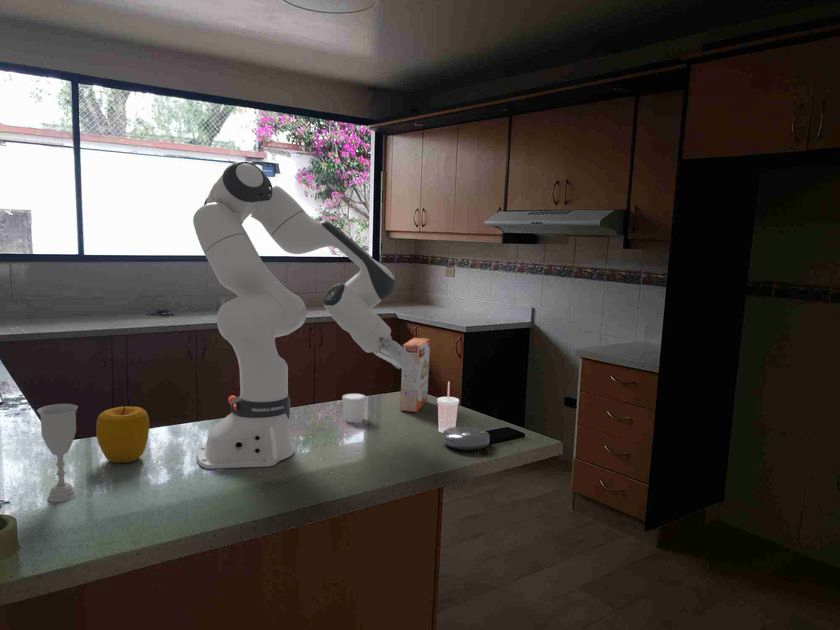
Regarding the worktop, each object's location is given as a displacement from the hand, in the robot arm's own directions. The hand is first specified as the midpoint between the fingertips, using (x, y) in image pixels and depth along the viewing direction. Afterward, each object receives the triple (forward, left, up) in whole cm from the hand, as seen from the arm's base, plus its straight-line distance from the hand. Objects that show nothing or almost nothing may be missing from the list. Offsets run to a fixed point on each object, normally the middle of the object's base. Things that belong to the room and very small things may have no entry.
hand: (407, 370), depth 163 cm
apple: (-69, +1, -18) cm, 71 cm away
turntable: (+12, -12, -18) cm, 25 cm away
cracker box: (+12, +25, -18) cm, 33 cm away
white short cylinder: (-10, +17, -18) cm, 27 cm away
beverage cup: (+12, 0, -18) cm, 22 cm away
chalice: (-79, -16, -18) cm, 82 cm away
